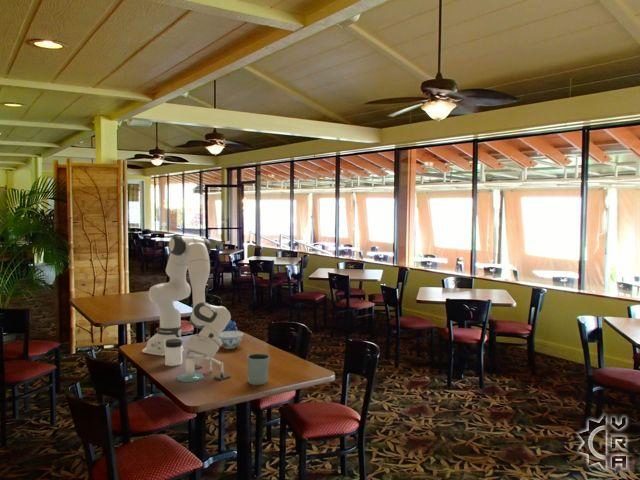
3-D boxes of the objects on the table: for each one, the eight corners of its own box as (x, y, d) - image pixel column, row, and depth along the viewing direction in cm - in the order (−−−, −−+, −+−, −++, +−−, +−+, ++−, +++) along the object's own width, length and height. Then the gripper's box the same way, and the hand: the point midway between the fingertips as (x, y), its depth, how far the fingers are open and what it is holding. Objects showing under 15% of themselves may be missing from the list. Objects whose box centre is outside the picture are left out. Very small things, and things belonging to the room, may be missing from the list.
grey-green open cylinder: (243, 380, 233) (243, 355, 233) (262, 376, 239) (262, 351, 239) (253, 386, 225) (254, 360, 225) (273, 382, 231) (273, 356, 231)
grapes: (235, 337, 315) (235, 318, 315) (238, 339, 309) (238, 320, 309) (216, 339, 310) (216, 319, 310) (219, 341, 304) (219, 322, 304)
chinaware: (247, 348, 290) (247, 335, 289) (222, 352, 282) (222, 338, 281) (236, 342, 302) (236, 329, 302) (213, 345, 294) (213, 332, 294)
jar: (167, 361, 263) (167, 338, 262) (183, 361, 264) (183, 338, 263) (163, 366, 254) (163, 343, 253) (180, 366, 255) (180, 342, 254)
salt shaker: (184, 377, 235) (184, 358, 235) (188, 375, 239) (188, 356, 238) (191, 378, 234) (191, 359, 234) (196, 375, 238) (196, 357, 237)
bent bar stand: (185, 368, 251) (185, 354, 250) (195, 366, 255) (195, 352, 255) (220, 380, 233) (220, 365, 233) (230, 377, 238) (230, 362, 237)
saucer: (172, 380, 232) (172, 379, 232) (185, 373, 244) (185, 371, 244) (195, 383, 229) (195, 381, 229) (207, 375, 241) (207, 374, 241)
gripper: (191, 329, 248) (174, 353, 242) (217, 336, 235) (200, 361, 228) (198, 336, 252) (182, 360, 245) (224, 344, 239) (208, 369, 232)
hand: (191, 360), depth 237 cm, fingers open, 8 cm apart
